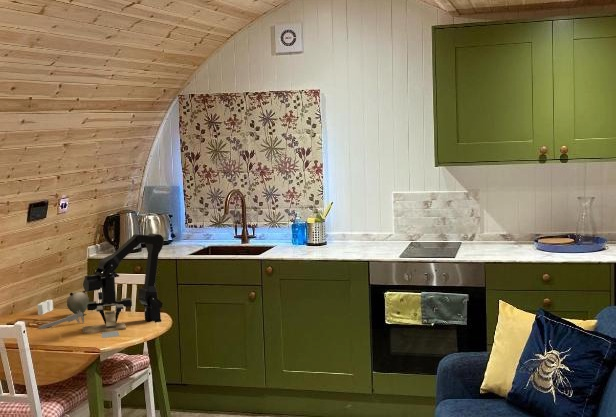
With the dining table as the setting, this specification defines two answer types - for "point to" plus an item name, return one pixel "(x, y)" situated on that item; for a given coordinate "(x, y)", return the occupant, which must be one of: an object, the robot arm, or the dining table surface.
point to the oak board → (103, 328)
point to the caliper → (69, 319)
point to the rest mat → (110, 334)
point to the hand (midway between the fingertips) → (110, 323)
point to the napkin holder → (45, 307)
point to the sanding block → (110, 319)
